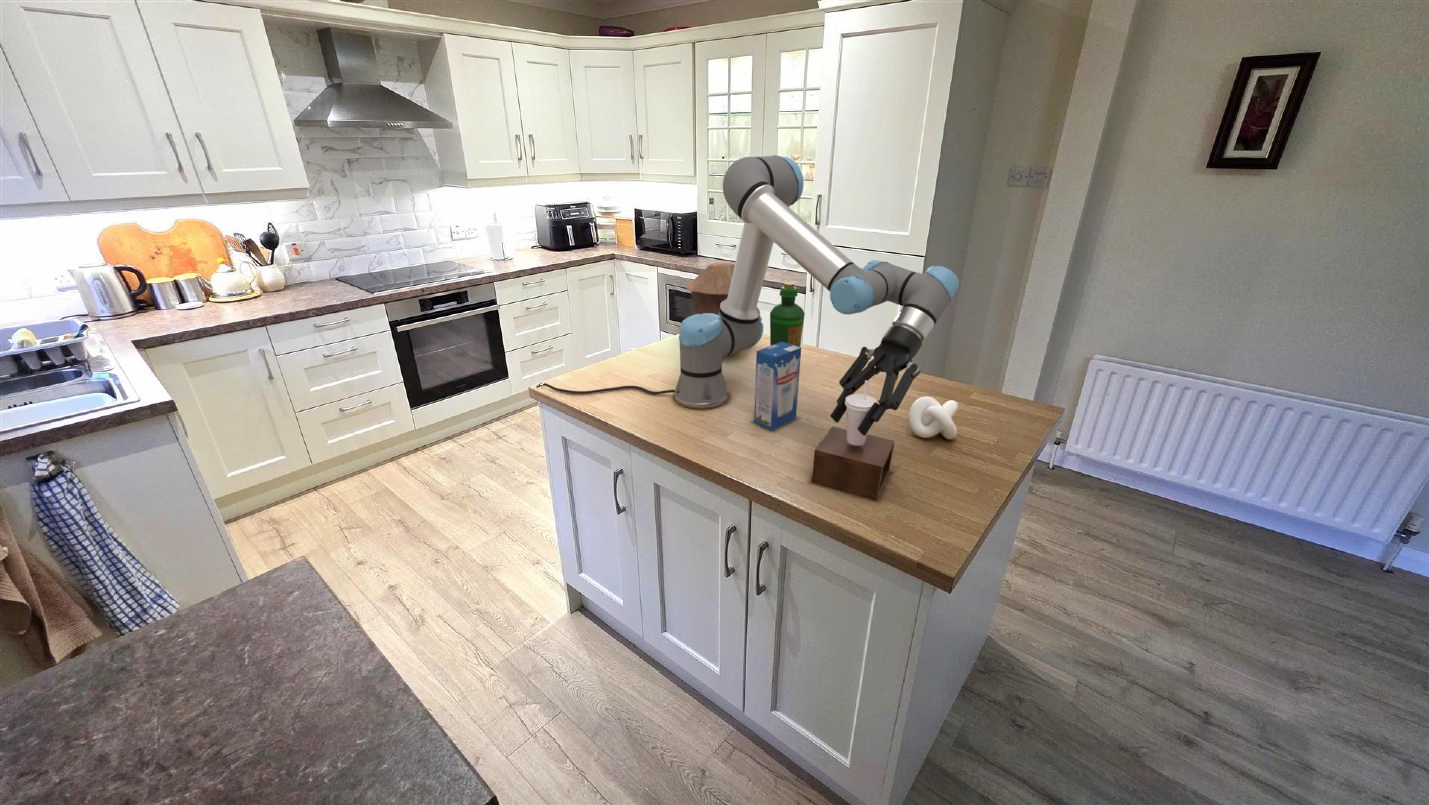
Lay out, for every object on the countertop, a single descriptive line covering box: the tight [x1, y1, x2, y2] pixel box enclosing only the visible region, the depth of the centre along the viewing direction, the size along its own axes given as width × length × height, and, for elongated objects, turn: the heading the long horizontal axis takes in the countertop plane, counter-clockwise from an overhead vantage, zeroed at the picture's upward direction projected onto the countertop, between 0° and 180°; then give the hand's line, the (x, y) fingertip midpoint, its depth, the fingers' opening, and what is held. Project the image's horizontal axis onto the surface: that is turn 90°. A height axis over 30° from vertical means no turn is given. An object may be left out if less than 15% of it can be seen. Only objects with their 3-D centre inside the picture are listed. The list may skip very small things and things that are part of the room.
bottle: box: [769, 281, 806, 347], centre depth 170 cm, size 11×11×28 cm
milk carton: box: [753, 342, 802, 432], centre depth 140 cm, size 10×6×20 cm, turn 134°
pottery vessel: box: [685, 262, 735, 316], centre depth 186 cm, size 26×26×30 cm
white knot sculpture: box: [908, 396, 959, 440], centre depth 137 cm, size 11×12×9 cm
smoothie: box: [845, 380, 878, 446], centre depth 113 cm, size 6×6×14 cm
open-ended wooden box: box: [811, 425, 895, 501], centre depth 119 cm, size 14×12×8 cm
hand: (847, 425), depth 112 cm, fingers closed on smoothie, 6 cm apart
